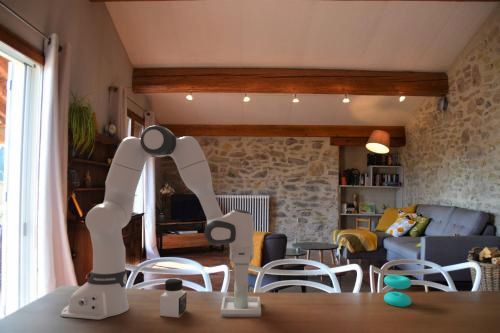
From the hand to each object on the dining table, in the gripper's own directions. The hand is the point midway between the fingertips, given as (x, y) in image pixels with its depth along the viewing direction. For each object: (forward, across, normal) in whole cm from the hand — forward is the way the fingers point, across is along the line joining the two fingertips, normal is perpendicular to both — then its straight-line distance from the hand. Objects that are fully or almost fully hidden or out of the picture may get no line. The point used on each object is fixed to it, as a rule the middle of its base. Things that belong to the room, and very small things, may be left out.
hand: (241, 291), depth 137 cm
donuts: (+7, -8, +61) cm, 62 cm away
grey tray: (+7, 0, 0) cm, 7 cm away
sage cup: (+6, 0, 0) cm, 6 cm away
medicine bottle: (+7, +4, -24) cm, 25 cm away
